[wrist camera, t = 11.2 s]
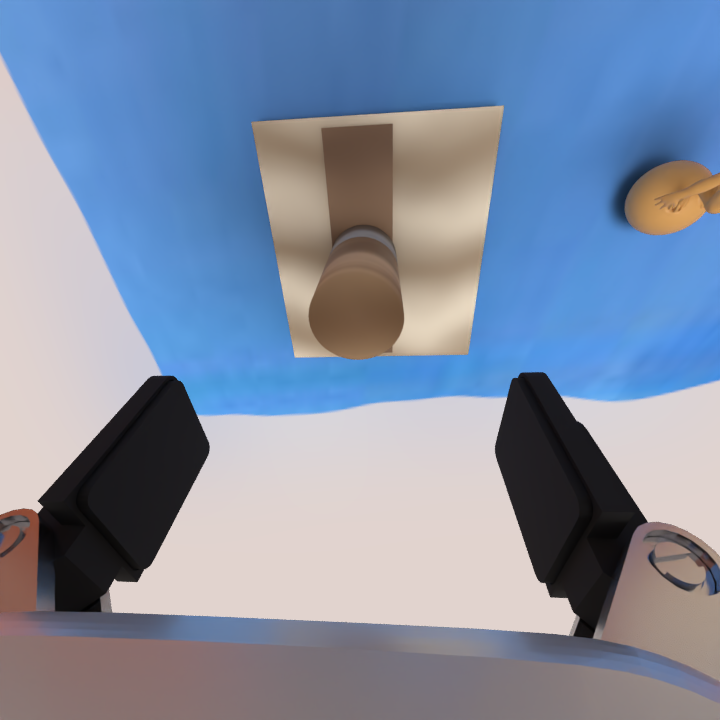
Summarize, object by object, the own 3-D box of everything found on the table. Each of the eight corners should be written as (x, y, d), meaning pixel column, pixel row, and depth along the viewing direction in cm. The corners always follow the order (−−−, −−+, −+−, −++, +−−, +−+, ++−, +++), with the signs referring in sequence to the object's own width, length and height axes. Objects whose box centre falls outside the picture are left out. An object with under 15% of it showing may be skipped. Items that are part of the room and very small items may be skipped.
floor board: (258, 122, 21) (249, 121, 19) (496, 107, 20) (505, 105, 18) (298, 347, 30) (294, 359, 28) (464, 344, 29) (468, 356, 27)
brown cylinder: (328, 226, 22) (301, 275, 15) (396, 223, 22) (405, 271, 14) (334, 290, 25) (314, 360, 17) (396, 288, 24) (403, 358, 17)
